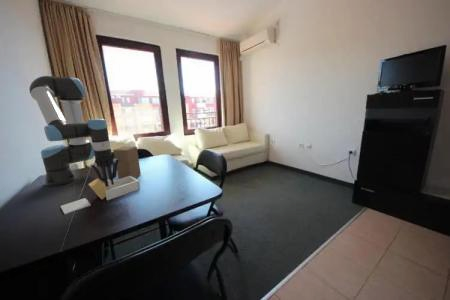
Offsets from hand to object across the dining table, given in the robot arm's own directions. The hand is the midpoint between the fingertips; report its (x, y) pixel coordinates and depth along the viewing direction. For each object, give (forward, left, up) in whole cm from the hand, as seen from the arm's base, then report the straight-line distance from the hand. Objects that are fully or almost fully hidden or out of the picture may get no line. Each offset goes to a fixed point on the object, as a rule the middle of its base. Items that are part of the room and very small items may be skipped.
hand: (110, 191), depth 102 cm
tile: (0, -16, -2) cm, 16 cm away
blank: (0, -3, -1) cm, 3 cm away
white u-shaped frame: (0, +5, -2) cm, 5 cm away
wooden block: (-18, +17, -2) cm, 25 cm away
